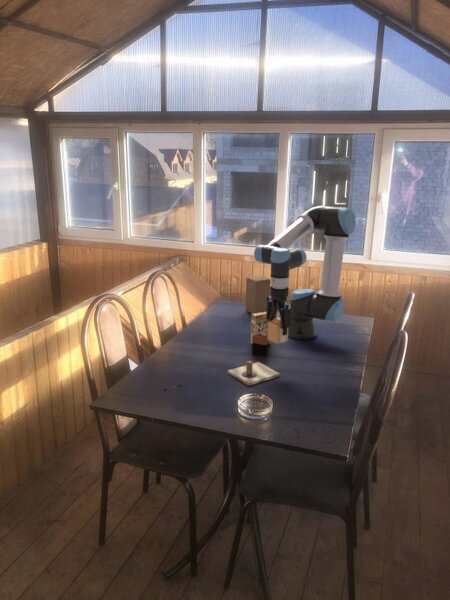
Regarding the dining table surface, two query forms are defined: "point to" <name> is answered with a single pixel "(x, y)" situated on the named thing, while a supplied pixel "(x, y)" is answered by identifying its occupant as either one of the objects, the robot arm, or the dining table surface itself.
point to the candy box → (259, 323)
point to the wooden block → (257, 293)
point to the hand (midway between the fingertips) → (277, 339)
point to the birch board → (253, 373)
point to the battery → (260, 344)
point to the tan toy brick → (275, 330)
